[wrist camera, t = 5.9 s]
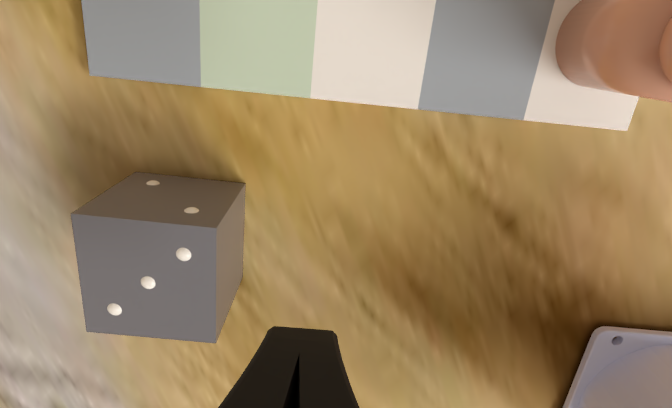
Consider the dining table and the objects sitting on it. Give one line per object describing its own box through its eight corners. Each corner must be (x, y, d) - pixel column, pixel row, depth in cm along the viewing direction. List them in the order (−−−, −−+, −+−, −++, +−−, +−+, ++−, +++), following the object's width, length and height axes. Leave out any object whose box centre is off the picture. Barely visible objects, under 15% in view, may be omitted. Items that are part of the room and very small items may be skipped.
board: (678, -49, 14) (692, -52, 13) (617, 127, 16) (627, 130, 16) (78, -120, 13) (67, -127, 13) (98, 74, 16) (89, 75, 15)
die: (246, 180, 17) (215, 226, 13) (242, 276, 19) (214, 345, 15) (133, 168, 17) (65, 211, 13) (140, 266, 19) (82, 333, 14)
